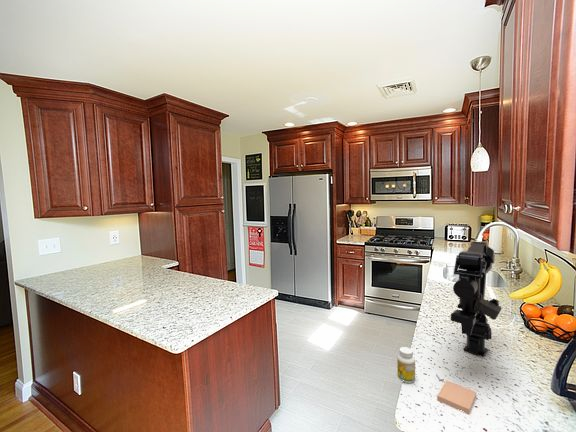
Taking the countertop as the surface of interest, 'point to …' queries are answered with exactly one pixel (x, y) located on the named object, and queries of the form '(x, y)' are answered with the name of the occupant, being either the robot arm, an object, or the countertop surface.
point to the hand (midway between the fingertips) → (468, 335)
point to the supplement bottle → (406, 365)
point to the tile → (457, 396)
